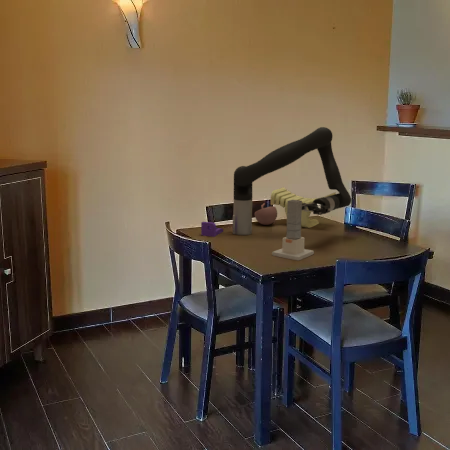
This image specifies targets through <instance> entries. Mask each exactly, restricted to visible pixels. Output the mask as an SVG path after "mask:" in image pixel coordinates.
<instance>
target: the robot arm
mask: <svg viewBox="0 0 450 450" xmlns="http://www.w3.org/2000/svg"><path fill="white" fill-rule="evenodd" d="M332 140H333V132H332V131H331V129H330V128H328V127H326V126H325V127H324V126H321V127H318V128H316V129H315V130H313V131H312V132H311V133H308V134H307V135H306V136H304V137H301V138H300V139H298V140H295V141H292V142H289V143H287V144H285V145H284V144H283V146H280V147H278V148H276V149H275V150H273V151H271V152H269V153H268V154H267V155H265V156H264V157H262V158H261V159H260V160H258V161H256V162H254V163H252V164H249V165H241V166H238V167H237V168H236V169H235V171H234V172H233V213H232V214H233V215H232V234H233V235H237V236H248V235H251V234H252V232H253V183H254V182H255V181H257V180H258V179H260V178H262V177H264V176H265V175H268V174H271V173H274V172H276V171H278V170H281V169H282V168H284V167H287V166H289V165H291V164H293V163H294V162H296V161H297V160H299V159H301V158H302V157H303V156H305V155H306V154H308V153H310V152H312V151H315V150H317V153H318V155H319V157H320V160H321V164H322V167H323V173H324V175H325V180H326V184H327V187H328V189H329V190H331V191H332V190H334V191H337V192H338V193H336V194H334V195H331V196H327V195H326V196H327V197H325V196H322V197H317V198H318V199H315V200H314V201H313V202H312V203H310V204H306V203H302V211H306V212H309V211H311V213H313V215H318V216H321V215H325V214H328V213H330V212H331V211H332V212H333V211H335V210H338V209H341V208H346V207H349V206H350V205H351V203H352V197H351V195H350V193H349V191H348V190H347V188H346V186H345V184H344V182H343V179H342V175H341V172H340V169H339V167H338V164H337V161H336V159H335V156H334V153H333V148H332V147H333V146H332ZM307 207H308V210H307Z"/></svg>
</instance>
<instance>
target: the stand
mask: <svg viewBox="0 0 450 450" xmlns="http://www.w3.org/2000/svg"><path fill="white" fill-rule="evenodd" d="M281 245H282V248H280V249H276V250H274V251H272V252H271V254H272V255H271V256H274V257H277V258H279V257H280V258H284V259H289V260H293V261H297V262H298V261H301V260H304V259H306V258H308V257H310V256H313V255H314V253H315V250H311V249H306V248H305V237H303V236H301V238H300V239H297V240H293V239H288V238H287V236H285V237H282V244H281Z"/></svg>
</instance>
